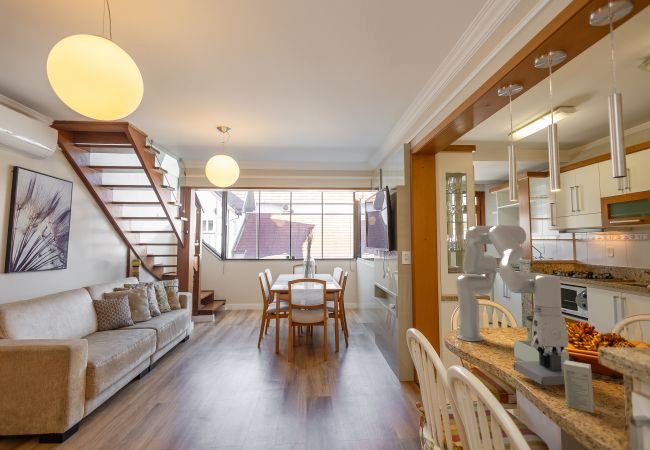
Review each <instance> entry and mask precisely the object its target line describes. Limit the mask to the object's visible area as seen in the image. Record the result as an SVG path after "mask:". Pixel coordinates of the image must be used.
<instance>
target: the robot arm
mask: <svg viewBox="0 0 650 450" xmlns="http://www.w3.org/2000/svg"><path fill="white" fill-rule="evenodd" d="M526 240H527V233H526V231H525V229H524V228H523V227H522V226H520V225H515V224H513V225H512V224H503V225H502V224H497V225H473V226H470V227H469V228H467V230H466V232H465V251H464V255H463V261H462V271H463V272H464V273H465V274H461V275H458V277H456V280H455V286H456V290H457V296H458V301H457V302H458V326H457V330H458V332H457V333H456V334H455V337H456V338H457V339H459V340H461V341H466V342H473V343H474V342H477V343H478V342H482V341H484V336H482V335H480V333H481V330H480V324H481V323H480V322H481V321H480V302H479V300H478V298H477V297H476V296H475V295H476V294H477V295H478V294H482V295H484V294H490V293H491V292H492V291H493V289H494V286H495V282H496V278H497V272H499V276H500V278H501V280H502V282H503V283H504V285H505V287H507V289H508V291H510V292H511V293H514V294H534V308H532V312H534V314H533V315H534V317H533V323H532V342H531V347H533V348H535V349H536V350H537V351H538V352H539V353H540V361H541V365H542V366H544V367H546V368H549V367H550V365H549V356H548V347H551V350H552V352H553V353H555V354H558V355H561V352H562V351H563V350H565V349H566V348H567V347H569V334H568V327H567V322H566V319H565V316H563V315H562V313H563V312H562V290H561V289H562V287H561V284H562V283H561V278H560V277H559V276H557V275H554V274H553V275H552V274H544V273H541V272H516V271H515V270H514V268H513V266H512V264H514V263H516V262H517V261H519V260H521V258H523V256H524V254H525V250H524V249H523V247H522V246H521V245H522V244H524V243H525V242H526ZM485 245H493V247H494V249H495V250H496V252H497V253H498V255H499V257H500V258H501V259H500V261H499V263H498V261H497V259H496V258H495V257H494V256H493V255H489V254H485V252H486V246H485ZM537 344H539V345H537Z"/></svg>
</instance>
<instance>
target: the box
mask: <svg viewBox="0 0 650 450" xmlns="http://www.w3.org/2000/svg"><path fill="white" fill-rule="evenodd" d="M531 342H532V340H527V339H521V340H520V339H519V340H518V339H517V340H513V352H514V353H513V354H514V355H513V356H514V358H515V359H517V360H518V361H519V362H530V361H539V352H538V351H537V350H536V349H535V348H533V347H531ZM537 345H539V344H537ZM548 351H550V352H552V350H551V347H548ZM560 356H561V362H562V363H564V361H565V360H567V361H570V351H569V350H567V349H564V350H563V351H562V352H561V355H560Z"/></svg>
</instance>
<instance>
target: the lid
mask: <svg viewBox="0 0 650 450" xmlns="http://www.w3.org/2000/svg"><path fill="white" fill-rule="evenodd" d="M548 356H549V365H550V367H549V368H546V367H544V366H542V365H541V361H540V353H539V361H530V362H522V361H513V370H514V371H516V372H517V373H519V374H521V375H523V376H524V377H527V378H528V379H530V380H532V381H534V382H535V383H537V384H540V385H541V386H554V385H565V380H564V366H563V363H562V362H561V356H560V355H558V354H555V353H553V352H550V351H548Z"/></svg>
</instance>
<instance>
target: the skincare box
mask: <svg viewBox="0 0 650 450" xmlns="http://www.w3.org/2000/svg"><path fill="white" fill-rule="evenodd" d="M563 366H564V380H565V384H564V392H565V406H566V407H568V408H572V409H575V410H579V411H580V410H581V411H583V412H588V413H594V411H595V402H594V390H593V389H594V387H593V376H592V366H591V364H590V363H584V362H578V361H572V360H569V361H567V360H565V361H564V363H563Z"/></svg>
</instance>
